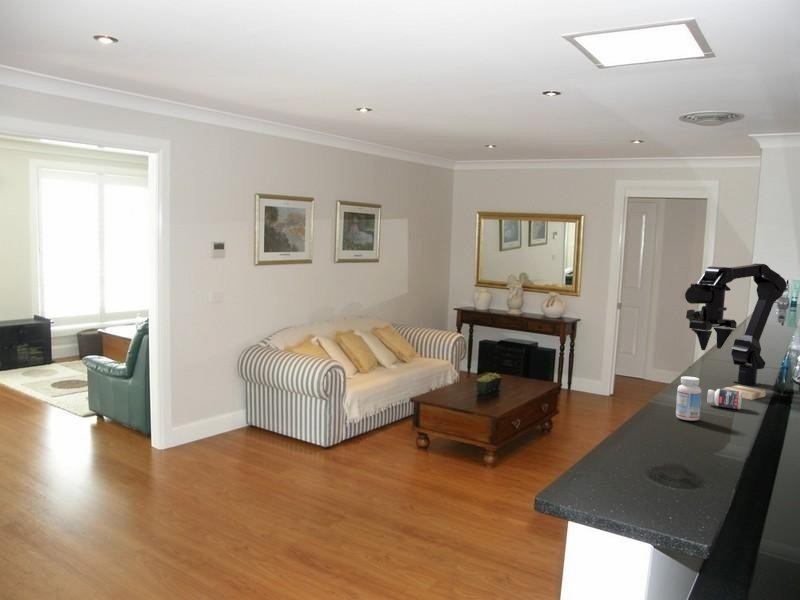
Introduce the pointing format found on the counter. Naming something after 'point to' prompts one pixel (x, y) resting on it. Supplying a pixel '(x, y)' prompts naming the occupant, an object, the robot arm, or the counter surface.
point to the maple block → (748, 392)
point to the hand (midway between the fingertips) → (711, 349)
